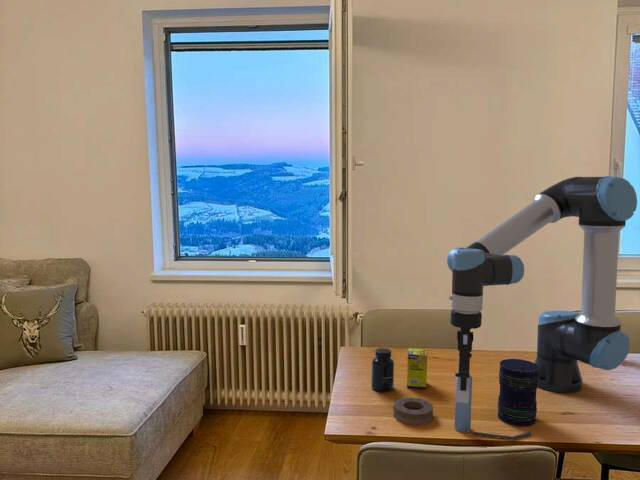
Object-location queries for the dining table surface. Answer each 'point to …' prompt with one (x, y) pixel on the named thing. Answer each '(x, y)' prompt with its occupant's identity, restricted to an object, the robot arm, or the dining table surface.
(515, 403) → the storage jar
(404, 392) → the dining table surface
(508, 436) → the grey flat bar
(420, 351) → the supplement box
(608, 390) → the dining table surface
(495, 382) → the dining table surface
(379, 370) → the supplement bottle
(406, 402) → the bead
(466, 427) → the round-tipped blue peg
